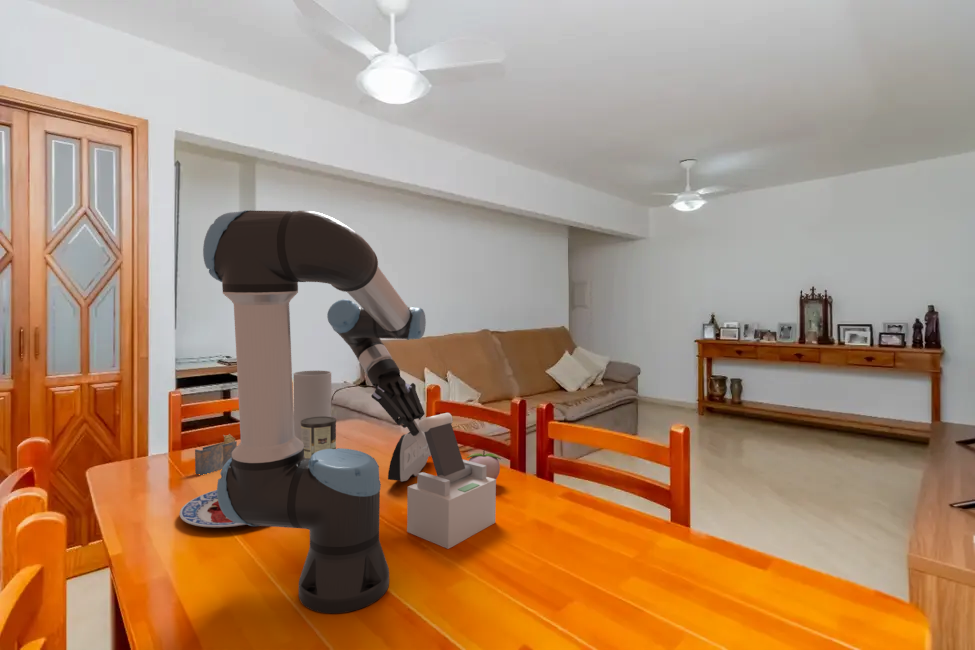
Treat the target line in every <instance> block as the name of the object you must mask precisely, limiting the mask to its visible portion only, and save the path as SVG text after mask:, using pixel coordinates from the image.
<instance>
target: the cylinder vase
mask: <svg viewBox="0 0 975 650" xmlns="http://www.w3.org/2000/svg"><path fill="white" fill-rule="evenodd" d="M293 413H294V435H295V437H297V438H298V439H299V440H301V420H303V419H306V418H311V417H320V416H326V417H332V371H330V370H302V371H296V372H293Z"/></svg>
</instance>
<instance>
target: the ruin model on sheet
mask: <svg viewBox="0 0 975 650" xmlns="http://www.w3.org/2000/svg"><path fill="white" fill-rule="evenodd" d="M222 436H223V439H224V440H223V442H219V443H214V444H211V445H207V446H204V447H202V449H194V458H195V459H194V462H195V464H194V466H195V467H194V470H195V471H194V474H195V473H196V474H200V475H203V474H206V475H208V474H207V473H209V474H211V472H212V473H215V472H218V470H219V471H221V469H222V468H223V466H224V465H225V463H226V462H227V461H228V460H229V459H230V458H232V451H233V450H234V449H235V448H236V447H237V446H238V444H237V443H238V442H237V440H236V438H235V437H234V436H233V435H231V434H230V433H228V435H225V434H223V435H222ZM214 471H215V472H214ZM203 476H204V475H203Z"/></svg>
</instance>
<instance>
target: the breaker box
mask: <svg viewBox="0 0 975 650" xmlns="http://www.w3.org/2000/svg"><path fill="white" fill-rule="evenodd" d="M462 460H463V463H464V466H466V465H469V466H470V467H471V469H472V474H471V475H470V476H467V477H465V478H462V479H460V480H457V481H455V482H452V483H450V480H447V479H444V478H440V477H437V475H433V474H431V473H426V472H424V471H423V472H421V471H420V472H419V473H418V475H417V476H416V477H417V480H416V482H417V483H414V484H411V485H409V486H407V495H406V496H407V511H406V512H407V515H406V517H407V518H406V519H407V520H406V522H407V523H406V525H407V526H406V533H409V534H411V535H414V536H417V537H419V538H420V539H423V540H425V541H429V542H430V543H433V544H434V545H435V544H436V545H438V546H440V547H442V548H445V549H447V550H448V549H451V548H452V547H455V546H456V545H458V544H460V543H462V542H463V541H465V540H467V539H468V538H470V537H472V536H474V535H476V534H477V533H479V532H481V531H483V530H485V529H486V528H488V527H490V526H492V525H493V524H495V523H496V506H497V505H496V504H497V503H496V502H497V501H496V499H497V498H496V497H497V496H496V495H497V493H496V492H497V488H496V487H497V478H496V479H493V478H489V477H486V468H487V466H486V465H482V464H478V463H475V462H471V461H469V460H468V459H467V460H466V459H463V458H462Z"/></svg>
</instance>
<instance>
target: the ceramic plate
mask: <svg viewBox="0 0 975 650" xmlns="http://www.w3.org/2000/svg"><path fill="white" fill-rule="evenodd" d="M179 517H180V519H181V520H182V522H185V523H187V524H189V525H192V526H196V527H203V528H229V527H238V526H245V525H247V524H241V523H236V522H233V521H231V520H229V519H228V518H227V517H226V516H225V515H224V514H223V512H222V510H221V508H220V506H219V502H218V497H217V489H215V490H211V491H209V492H206V493H203V494H201V495H199V496H196V497H194V498H192V499H191V500H189V501H188V502H187V503H185V504H184V505H182V507H181V508H180V511H179Z"/></svg>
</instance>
